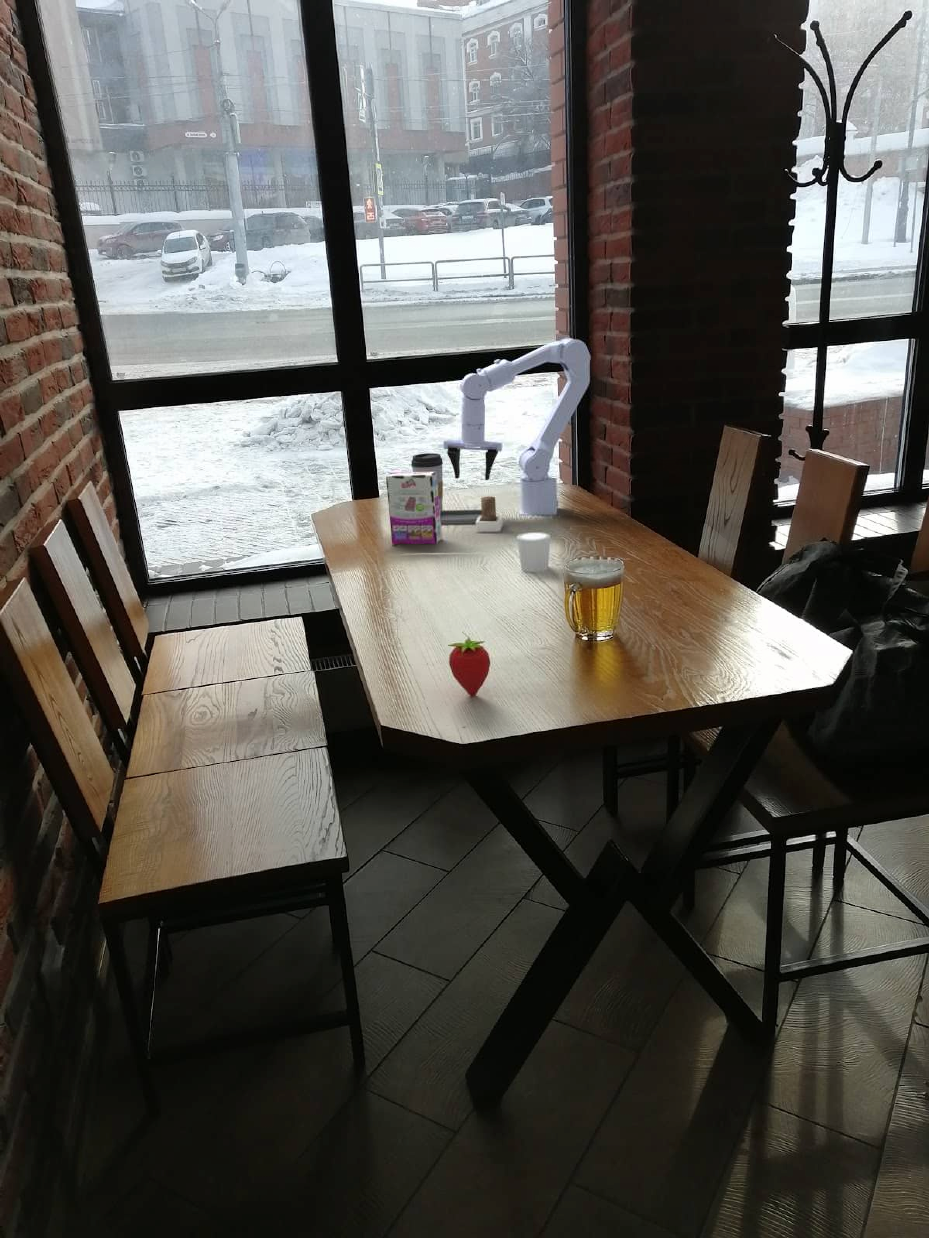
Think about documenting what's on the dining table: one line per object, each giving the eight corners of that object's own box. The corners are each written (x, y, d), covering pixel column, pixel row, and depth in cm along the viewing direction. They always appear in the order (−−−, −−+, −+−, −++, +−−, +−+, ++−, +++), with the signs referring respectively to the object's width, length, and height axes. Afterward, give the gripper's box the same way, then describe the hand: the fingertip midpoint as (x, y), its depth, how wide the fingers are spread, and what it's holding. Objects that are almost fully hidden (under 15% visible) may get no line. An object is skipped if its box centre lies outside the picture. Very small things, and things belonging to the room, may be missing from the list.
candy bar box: (442, 540, 219) (438, 470, 213) (437, 545, 214) (432, 475, 209) (397, 539, 222) (391, 471, 216) (391, 545, 217) (385, 475, 212)
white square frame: (502, 526, 227) (502, 515, 226) (500, 533, 222) (499, 521, 221) (479, 527, 228) (478, 516, 227) (476, 533, 223) (475, 522, 222)
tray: (492, 515, 239) (491, 509, 238) (487, 525, 230) (487, 518, 229) (438, 516, 241) (438, 510, 241) (432, 526, 232) (431, 520, 231)
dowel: (497, 526, 226) (495, 496, 224) (495, 530, 223) (494, 499, 220) (483, 527, 227) (481, 496, 224) (481, 530, 223) (480, 499, 221)
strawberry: (455, 709, 132) (451, 643, 128) (447, 687, 139) (443, 625, 135) (496, 703, 132) (493, 638, 129) (486, 683, 139) (483, 620, 136)
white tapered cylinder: (549, 573, 189) (548, 540, 187) (515, 573, 191) (514, 540, 188) (552, 563, 196) (552, 531, 193) (520, 563, 197) (519, 531, 195)
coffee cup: (410, 515, 244) (405, 458, 239) (420, 508, 251) (416, 452, 246) (440, 516, 241) (436, 458, 236) (450, 508, 249) (446, 452, 244)
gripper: (441, 425, 228) (440, 480, 232) (499, 427, 225) (498, 483, 229) (447, 421, 234) (446, 475, 239) (504, 423, 231) (502, 477, 236)
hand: (472, 478), depth 234 cm, fingers open, 7 cm apart
